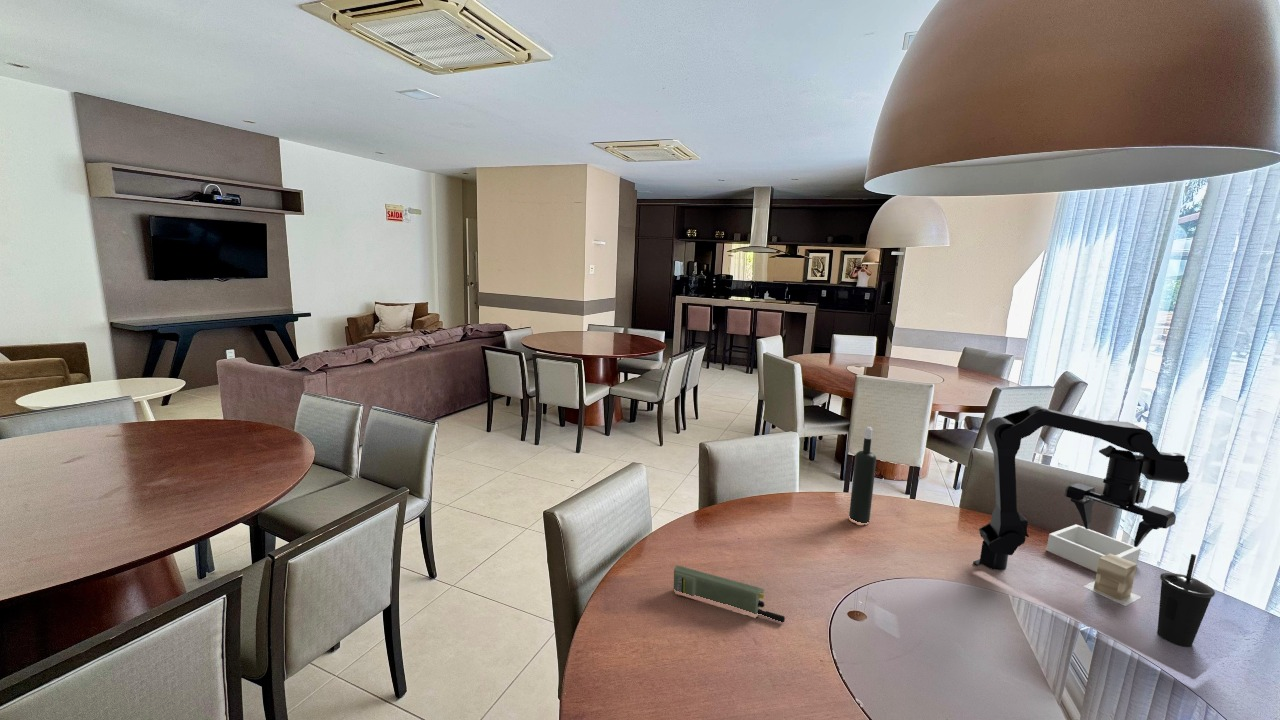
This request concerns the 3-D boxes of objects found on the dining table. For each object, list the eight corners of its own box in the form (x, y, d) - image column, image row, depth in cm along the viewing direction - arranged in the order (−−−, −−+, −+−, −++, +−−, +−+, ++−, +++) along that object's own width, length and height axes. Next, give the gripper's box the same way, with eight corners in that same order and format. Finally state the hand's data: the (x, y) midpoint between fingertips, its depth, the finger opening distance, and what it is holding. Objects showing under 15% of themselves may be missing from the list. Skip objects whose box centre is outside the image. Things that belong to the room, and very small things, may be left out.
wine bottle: (851, 525, 152) (861, 429, 147) (846, 516, 158) (856, 423, 153) (871, 527, 151) (882, 430, 146) (866, 518, 157) (876, 425, 152)
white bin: (1109, 582, 127) (1114, 560, 126) (1045, 554, 139) (1049, 533, 138) (1136, 569, 133) (1140, 548, 132) (1072, 543, 145) (1076, 524, 144)
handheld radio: (677, 588, 120) (785, 619, 110) (672, 596, 117) (782, 629, 107) (677, 562, 118) (787, 592, 108) (672, 570, 115) (785, 601, 105)
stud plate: (1124, 610, 116) (1128, 592, 115) (1081, 590, 123) (1085, 573, 122) (1140, 601, 119) (1144, 583, 118) (1098, 583, 126) (1102, 565, 125)
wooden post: (1120, 600, 117) (1126, 568, 116) (1093, 588, 122) (1099, 557, 120) (1130, 595, 119) (1136, 564, 118) (1104, 583, 124) (1110, 553, 123)
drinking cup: (1207, 662, 100) (1229, 570, 97) (1154, 646, 104) (1174, 557, 101) (1192, 639, 107) (1212, 552, 103) (1142, 625, 111) (1161, 541, 107)
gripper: (1191, 485, 115) (1177, 548, 118) (1089, 458, 131) (1079, 514, 134) (1172, 493, 110) (1158, 559, 113) (1068, 464, 126) (1058, 522, 129)
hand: (1110, 537), depth 122 cm, fingers open, 9 cm apart
